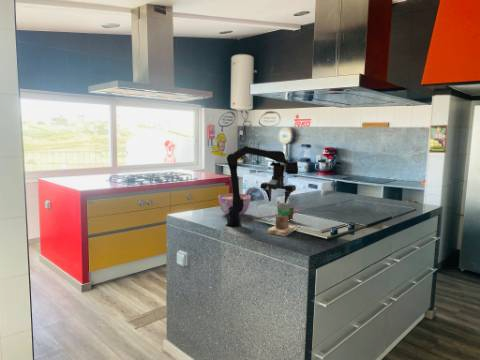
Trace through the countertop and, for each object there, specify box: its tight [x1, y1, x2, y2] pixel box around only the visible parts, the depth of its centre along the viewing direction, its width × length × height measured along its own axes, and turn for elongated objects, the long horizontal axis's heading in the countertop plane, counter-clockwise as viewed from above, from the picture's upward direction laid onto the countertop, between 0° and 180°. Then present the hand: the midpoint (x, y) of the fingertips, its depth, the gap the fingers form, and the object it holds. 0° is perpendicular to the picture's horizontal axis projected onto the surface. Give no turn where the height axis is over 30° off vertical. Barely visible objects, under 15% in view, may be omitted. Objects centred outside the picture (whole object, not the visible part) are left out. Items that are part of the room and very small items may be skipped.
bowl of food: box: [217, 193, 252, 217], centre depth 226 cm, size 20×20×12 cm
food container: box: [275, 200, 296, 220], centre depth 216 cm, size 12×6×10 cm, turn 45°
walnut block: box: [275, 214, 289, 229], centre depth 193 cm, size 5×5×6 cm
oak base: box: [266, 224, 296, 237], centre depth 193 cm, size 10×14×2 cm
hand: (277, 202), depth 203 cm, fingers open, 9 cm apart
